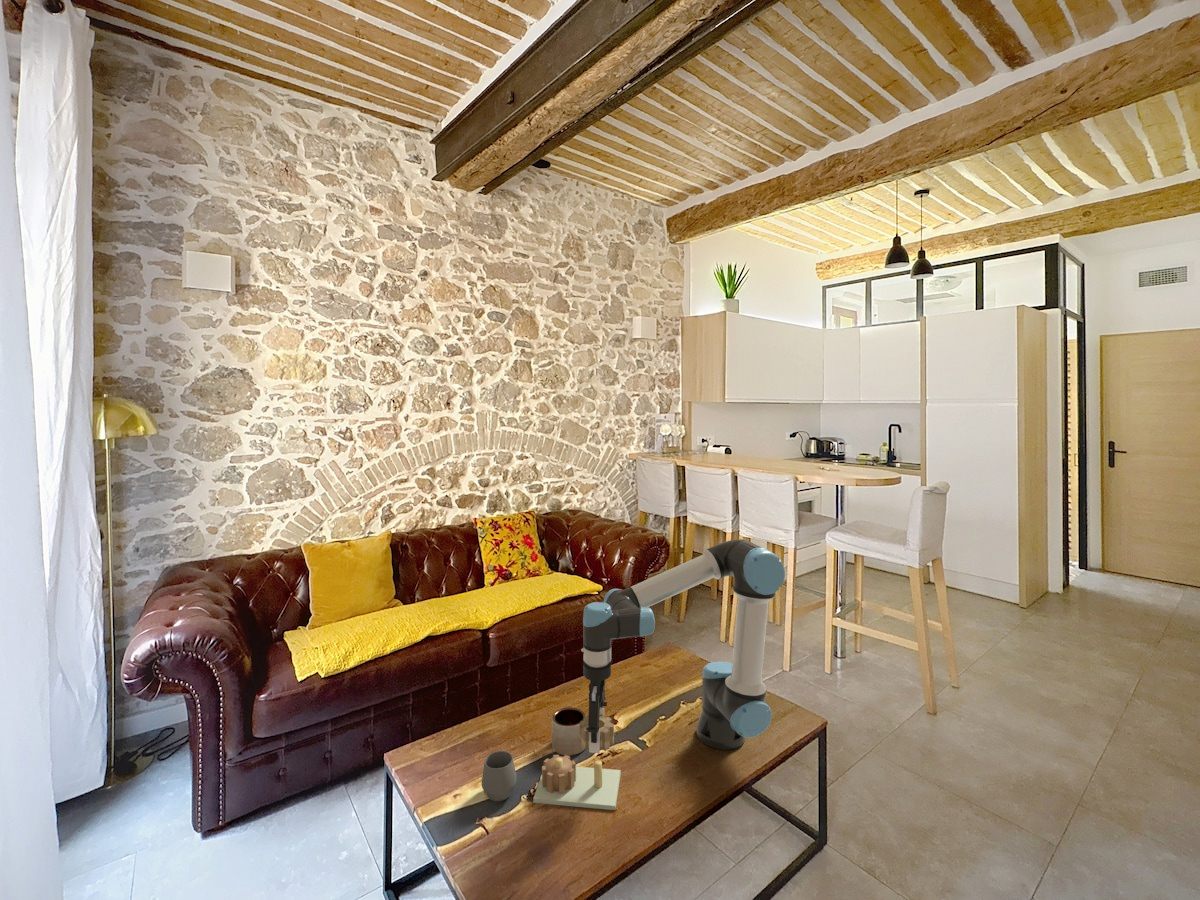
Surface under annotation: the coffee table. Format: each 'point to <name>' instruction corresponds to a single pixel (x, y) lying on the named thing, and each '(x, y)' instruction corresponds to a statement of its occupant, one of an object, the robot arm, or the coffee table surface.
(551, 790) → the gear board
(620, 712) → the coffee table surface
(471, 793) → the coffee table surface
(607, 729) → the beech gear
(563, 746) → the planter
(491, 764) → the cup
